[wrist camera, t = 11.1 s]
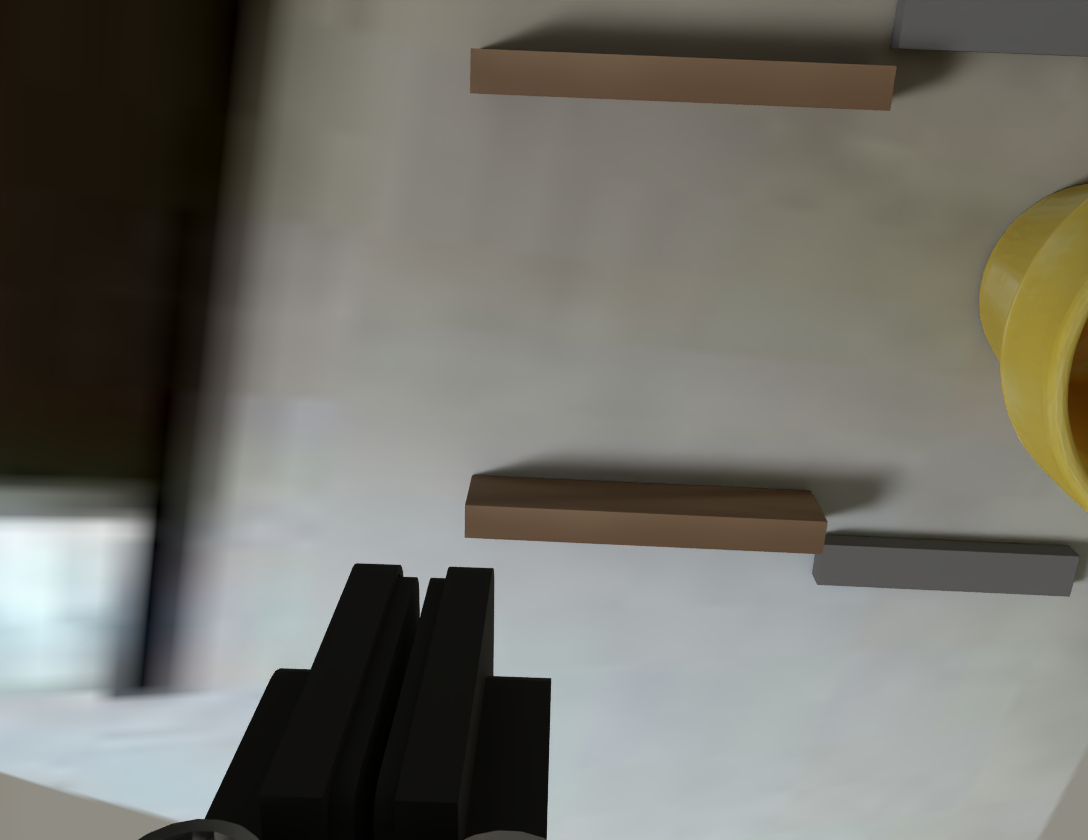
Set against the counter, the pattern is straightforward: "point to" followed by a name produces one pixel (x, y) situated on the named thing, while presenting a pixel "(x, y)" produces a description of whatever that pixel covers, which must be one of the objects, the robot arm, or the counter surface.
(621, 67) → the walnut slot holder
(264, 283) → the counter surface
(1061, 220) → the plant pot
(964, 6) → the rubber strips
